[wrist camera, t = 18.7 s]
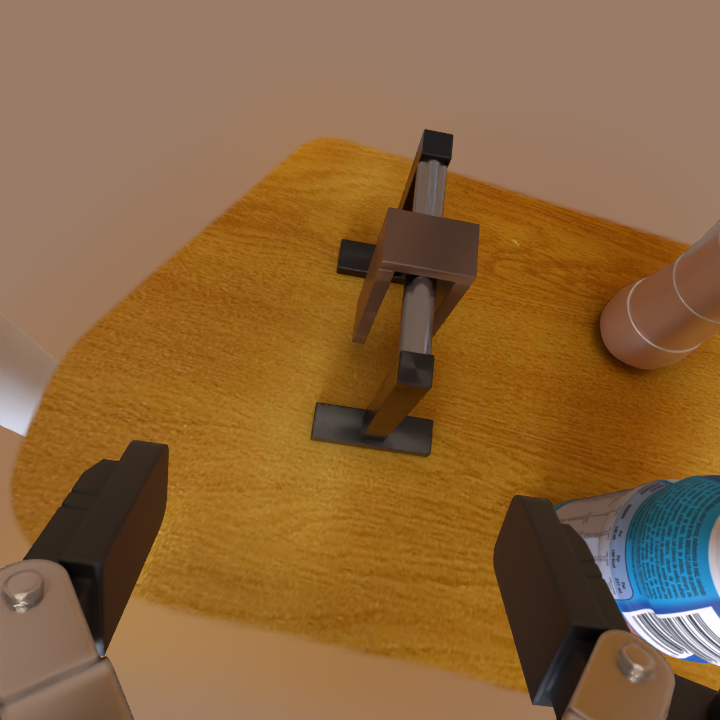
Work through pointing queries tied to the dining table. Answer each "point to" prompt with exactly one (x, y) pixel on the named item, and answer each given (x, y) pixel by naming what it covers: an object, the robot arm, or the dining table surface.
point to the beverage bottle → (659, 560)
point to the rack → (414, 360)
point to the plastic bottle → (667, 309)
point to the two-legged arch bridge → (419, 263)
